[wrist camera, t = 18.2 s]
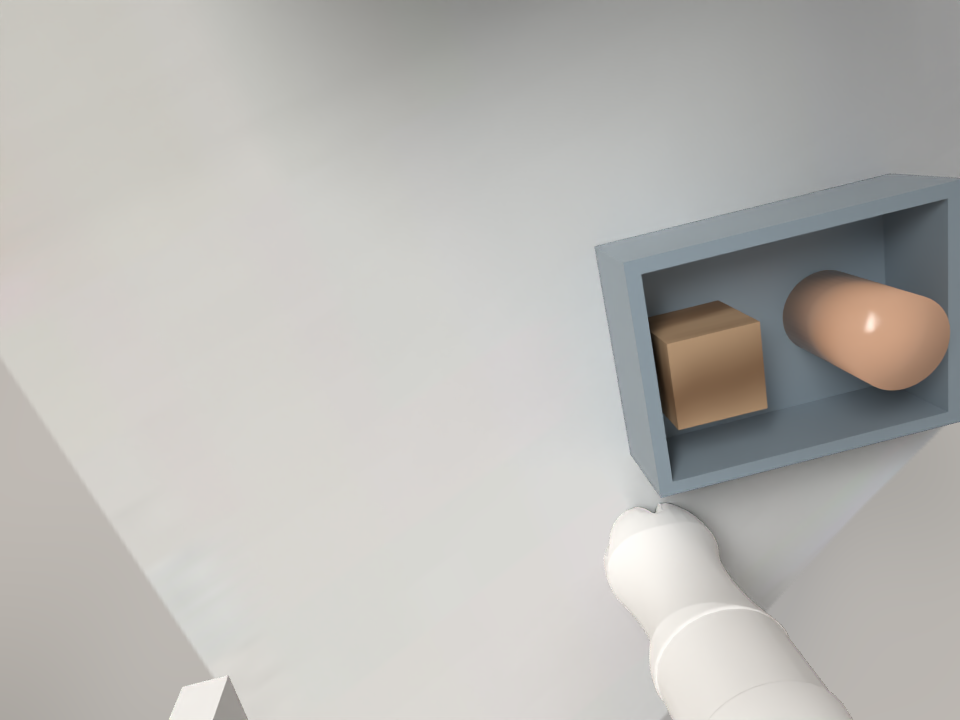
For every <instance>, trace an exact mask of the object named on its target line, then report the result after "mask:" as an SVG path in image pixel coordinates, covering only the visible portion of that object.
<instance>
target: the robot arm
mask: <svg viewBox="0 0 960 720" xmlns="http://www.w3.org/2000/svg"><path fill="white" fill-rule="evenodd" d="M169 720H248V718H247V716H246V714H245V712H244V709H243V707H242V705H241V703H240V700H239V698H238V696H237V694H236V691H235V689H234V687H233V685H232V682H231V680H230V678H229V676H228V675H227V676H223V677H219V678H215V679H211V680H207V681H203V682H200V683H196V684H192V685H188V686H184V687H182V690H181V692H180V695H179V697H178V699H177V701H176V704H175V706H174V709H173V711H172V713H171V716H170V718H169Z"/></svg>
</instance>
